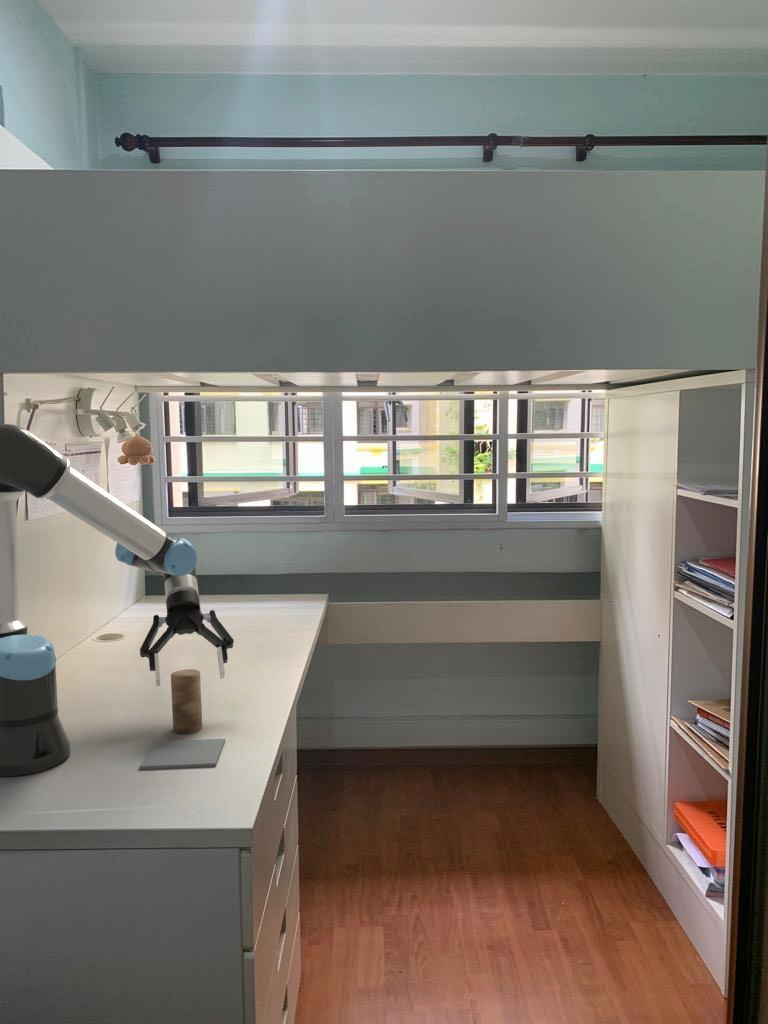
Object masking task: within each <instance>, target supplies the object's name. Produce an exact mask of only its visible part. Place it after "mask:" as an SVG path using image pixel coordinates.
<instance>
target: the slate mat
mask: <svg viewBox="0 0 768 1024" xmlns="http://www.w3.org/2000/svg"><path fill="white" fill-rule="evenodd" d="M225 743H226V738H210V739H207V738H206V739H186V740H184V739H183V740H181V739H178V740H157V741H156V740H155V741H154V742H153V744H152V745H151V747H150V749H149V750H148V752H147V754H146V755H145V757H144V758H143V760H142V761H141V762H140V765H139V770H159V769H182V768H183V769H185V768H186V769H187V768H207V767H208V768H209V767H217V764H218V763H219V762H218V761H219V759H220V756H221V754H222V750H223V748H224V746H225Z"/></svg>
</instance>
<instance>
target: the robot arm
mask: <svg viewBox="0 0 768 1024" xmlns="http://www.w3.org/2000/svg"><path fill="white" fill-rule="evenodd" d="M25 492H27V493H28V494H29V495H32V496H33V497H34V498H36V499H44V498H46V499H47V500H49V501H51V502H52V503H54V504H56V505H58V506H59V507H61V508H62V509H63V510H65V511H67V512H68V513H70V514H71V515H73V516H75V517H76V518H78V519H79V520H81V521H82V522H84V523H85V524H87V525H89V526H90V527H92V528H93V529H95V530H97V531H98V532H100V533H102V535H105V536H106V537H107V538H109V539H111V540H113V541H114V542H116V546H115V550H114V554H115V558H116V560H117V561H118V562H120V563H123V564H125V565H127V566H131V567H135V568H137V569H141V570H144V571H148V572H150V573H151V572H152V573H154V574H157V575H160V576H162V577H163V581H164V583H163V584H164V585H163V586H164V594H165V605H166V606H165V607H166V616H162V617H161V616H159V615H158V614H154V615H153V621H152V624H151V627H150V629H149V631H148V633H147V635H145V636H146V637H145V638H144V641H143V642H142V644H141V646H140V648H139V657H141V658H147V659H148V665H149V666H148V667H149V671H150V672H155V673H154V674H155V685H156V687H160V686H161V676H160V674H161V673H160V662H159V653H160V652H161V651H162V649H163V648H164V647H165V646H166V644H168V642H169V641H170V640H171V639H172V638H173V637H174V636H176V634H177V635H179V636H182V635H185V634H186V635H187V634H188V635H191V634H194V633H196V634H197V635H199V636H202V637H203V638H204V639H205V640H206V641H208V642H209V644H211V645H212V646H214V647H215V648H216V649H217V650H216V651H217V652H216V654H217V662H218V668H219V677H220V679H224V678H225V671H226V670H225V666H224V664H227V663H228V658H229V657H228V650H229V649H232V648H234V638H233V636H231V635H230V633H229V632H228V630H227V629H226V628H225V626H224V625H223V624H222V623H221V621H220V620H219V619H218V618H217V615H216V611H215V610H214V609H211V610H209V612H207V613H205V612H204V613H203V612H202V611H201V603H200V596H199V593H200V592H199V586H198V580H197V579H198V577H197V568H196V566H197V564H198V553H197V550H196V548H195V546H193V544H192V543H191V542H190V541H189V540H188V539H185V538H182V537H181V538H176V537H174V536H172V535H171V534H169V533H168V532H166V531H165V530H163V529H162V528H160V527H159V526H157V524H154V523H153V522H151V521H150V520H149V519H147V518H146V517H144V516H143V515H142V514H140V513H138V512H137V511H136V510H134V509H133V508H131V507H130V506H129V505H127V504H126V503H124V502H123V501H121V500H120V499H118V498H117V497H115V496H114V495H113V494H111V493H109V492H108V491H107V490H105V489H104V488H102V487H101V486H99V484H96V483H95V482H94V481H92V480H91V479H90V478H88V477H86V476H85V475H83V474H82V473H80V472H79V471H77V470H76V469H74V467H71V466H70V460H69V458H68V457H67V456H66V455H64V454H62V453H61V452H59V451H58V450H56V449H55V448H54V447H52V446H51V445H50V444H48V443H47V442H46V441H44V440H42V438H40V437H39V436H37V435H36V434H34V433H32V432H31V431H29V430H28V429H25V428H24V427H21V426H18V425H16V424H11V423H9V424H8V423H2V424H0V777H19V776H26V775H30V774H36V773H40V772H43V771H46V770H49V769H51V768H54V767H57V766H58V765H60V764H62V763H63V762H65V761H66V760H67V759H68V758H69V757H70V755H71V749H70V748H71V746H70V745H71V744H70V743H71V742H70V740H69V738H68V736H67V733H66V731H65V729H64V727H63V724H62V722H61V719H60V717H59V708H58V707H59V706H58V705H59V703H58V688H57V687H58V685H57V666H56V665H57V664H56V663H57V656H56V652H55V648H54V644H53V643H52V641H51V640H49V639H48V638H46V637H44V636H41V635H31V634H28V623H27V622H25V620H23V619H22V618H21V617H20V607H19V606H20V605H19V604H20V603H19V566H18V565H19V564H18V563H19V561H18V559H19V558H18V557H19V556H18V522H17V521H18V520H17V517H18V515H17V501H18V499H19V498H20V497H22V496H23V495H24V494H25ZM204 620H205V621H206V622H207V623H209V624H210V625H211V627H212V629H213V630H214V631H215V632H216V633H217V634H216V633H214V632H213V631H212V630H211V629H209V628H208V627H207V626H206V625H205V624H204V623H203V622H204ZM163 624H165V625H167V628H166V630H165V631H164V632H163V633H162V634H161V636H160V637H159V638H158V639H157V641H156V642H155V643H154V644H153V642H154V640H155V638H156V636H157V634H158V632H159V629H160V628H162V627H163ZM152 644H153V645H152Z"/></svg>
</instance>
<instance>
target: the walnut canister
mask: <svg viewBox="0 0 768 1024" xmlns="http://www.w3.org/2000/svg"><path fill="white" fill-rule="evenodd" d="M201 685H202V683H201V671H200V670H198V669H193V668H192V669H180V670H176V671H173V672H171V674H170V689H171V706H172V707H171V708H172V709H171V710H172V712H171V713H172V729H173V730H172V731H173V733H175V734H177V735H188V734H195V733H198V732H200V731H201V730H202V729H203V710H202V709H203V707H202V689H201V688H202V687H201Z"/></svg>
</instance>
